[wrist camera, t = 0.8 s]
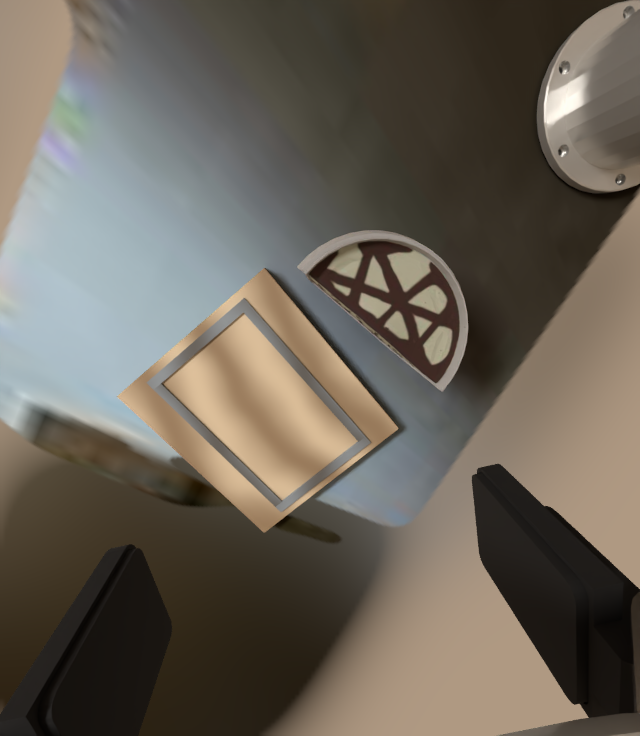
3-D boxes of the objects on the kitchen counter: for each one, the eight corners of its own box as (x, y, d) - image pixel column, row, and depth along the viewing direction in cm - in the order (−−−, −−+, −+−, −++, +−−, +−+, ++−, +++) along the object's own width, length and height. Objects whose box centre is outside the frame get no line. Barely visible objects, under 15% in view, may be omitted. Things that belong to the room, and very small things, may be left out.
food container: (449, 306, 32) (517, 322, 23) (401, 359, 33) (448, 396, 23) (343, 206, 29) (370, 175, 20) (294, 267, 30) (297, 266, 21)
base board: (265, 268, 30) (264, 268, 28) (394, 422, 35) (399, 429, 33) (124, 390, 32) (115, 397, 30) (265, 522, 36) (264, 534, 35)
